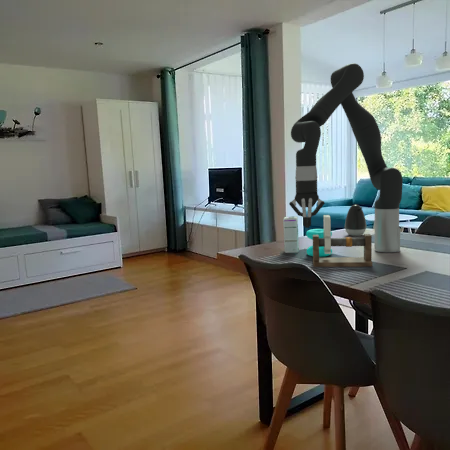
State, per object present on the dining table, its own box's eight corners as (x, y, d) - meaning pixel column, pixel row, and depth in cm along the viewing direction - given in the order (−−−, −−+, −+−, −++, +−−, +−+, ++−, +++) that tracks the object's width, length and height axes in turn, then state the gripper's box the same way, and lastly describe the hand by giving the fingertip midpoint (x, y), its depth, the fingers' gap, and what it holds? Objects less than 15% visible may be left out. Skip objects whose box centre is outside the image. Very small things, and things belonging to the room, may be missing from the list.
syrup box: (298, 252, 178) (297, 217, 176) (283, 252, 179) (283, 218, 177) (298, 250, 183) (298, 216, 181) (284, 250, 184) (284, 216, 182)
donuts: (332, 228, 174) (331, 232, 165) (332, 252, 176) (331, 257, 166) (307, 228, 177) (305, 232, 168) (307, 252, 178) (305, 257, 169)
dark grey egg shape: (351, 237, 207) (351, 206, 205) (341, 234, 217) (340, 204, 215) (370, 235, 209) (370, 204, 207) (359, 232, 219) (359, 203, 217)
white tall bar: (329, 249, 159) (329, 214, 157) (330, 253, 152) (330, 217, 150) (323, 249, 159) (323, 214, 158) (325, 253, 152) (324, 217, 151)
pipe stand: (368, 261, 158) (368, 232, 156) (372, 266, 150) (372, 236, 149) (312, 261, 161) (312, 233, 160) (313, 266, 153) (313, 237, 152)
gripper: (324, 178, 156) (325, 225, 158) (287, 179, 158) (288, 226, 160) (326, 178, 149) (326, 228, 151) (287, 180, 151) (288, 229, 153)
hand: (307, 227), depth 156 cm, fingers closed
